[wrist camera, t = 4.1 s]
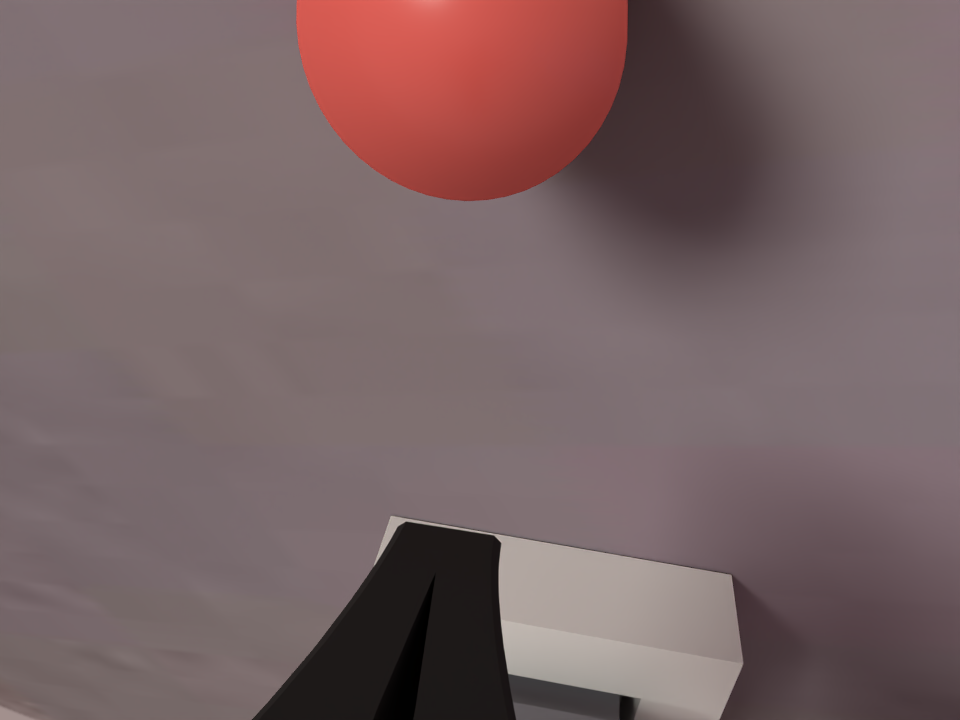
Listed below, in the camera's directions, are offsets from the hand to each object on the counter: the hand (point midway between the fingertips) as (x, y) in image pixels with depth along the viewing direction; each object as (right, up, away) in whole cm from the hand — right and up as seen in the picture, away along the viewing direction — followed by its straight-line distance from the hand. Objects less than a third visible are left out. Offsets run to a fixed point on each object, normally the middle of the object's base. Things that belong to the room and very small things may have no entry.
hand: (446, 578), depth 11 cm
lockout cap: (+1, +11, +4) cm, 11 cm away
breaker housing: (+2, -6, +15) cm, 17 cm away
